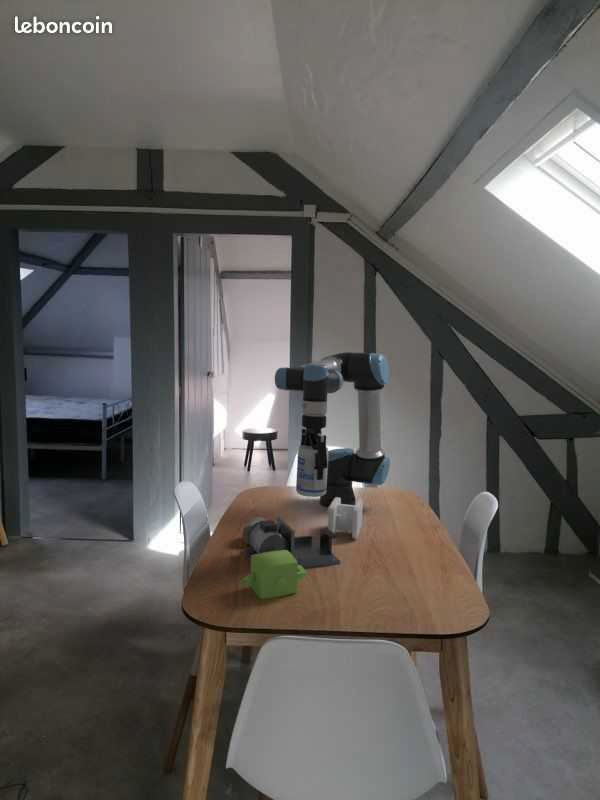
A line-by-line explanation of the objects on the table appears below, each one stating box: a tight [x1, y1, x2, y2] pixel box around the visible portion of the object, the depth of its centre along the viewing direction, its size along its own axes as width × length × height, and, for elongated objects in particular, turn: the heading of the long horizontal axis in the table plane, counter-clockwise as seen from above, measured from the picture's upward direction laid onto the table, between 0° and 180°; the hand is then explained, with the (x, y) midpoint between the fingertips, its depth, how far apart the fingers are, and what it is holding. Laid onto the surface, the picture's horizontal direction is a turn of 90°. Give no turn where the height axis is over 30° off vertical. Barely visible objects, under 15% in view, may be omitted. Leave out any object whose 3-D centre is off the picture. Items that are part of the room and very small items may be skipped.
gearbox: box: [240, 550, 308, 600], centre depth 148 cm, size 18×10×10 cm, turn 113°
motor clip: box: [242, 516, 341, 569], centre depth 172 cm, size 27×18×12 cm, turn 111°
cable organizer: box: [326, 497, 364, 540], centre depth 196 cm, size 15×11×12 cm
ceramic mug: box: [242, 516, 266, 546], centre depth 184 cm, size 11×8×8 cm
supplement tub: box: [295, 445, 329, 498], centre depth 172 cm, size 10×10×15 cm
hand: (311, 485), depth 172 cm, fingers closed on supplement tub, 9 cm apart
